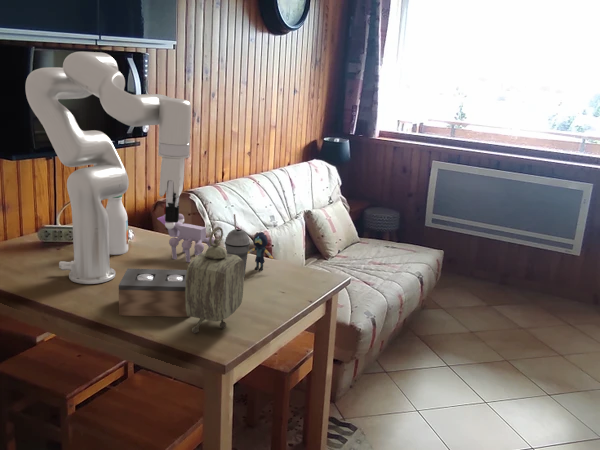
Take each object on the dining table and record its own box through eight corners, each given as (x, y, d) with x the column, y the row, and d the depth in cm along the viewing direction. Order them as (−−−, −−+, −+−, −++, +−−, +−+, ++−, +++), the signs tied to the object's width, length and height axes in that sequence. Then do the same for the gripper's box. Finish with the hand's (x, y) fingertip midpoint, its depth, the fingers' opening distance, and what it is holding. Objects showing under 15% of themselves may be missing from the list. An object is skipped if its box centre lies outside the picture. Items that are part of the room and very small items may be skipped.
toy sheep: (146, 255, 195) (147, 213, 192) (166, 248, 204) (167, 208, 201) (199, 266, 187) (201, 224, 184) (217, 259, 197) (219, 218, 194)
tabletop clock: (211, 312, 156) (213, 218, 149) (243, 318, 153) (247, 223, 147) (184, 335, 142) (185, 233, 136) (220, 342, 140) (223, 239, 133)
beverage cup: (244, 286, 174) (247, 219, 169) (220, 283, 175) (222, 216, 170) (251, 277, 181) (254, 213, 176) (228, 274, 182) (230, 210, 177)
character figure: (242, 268, 188) (244, 231, 185) (249, 264, 192) (250, 228, 189) (269, 274, 185) (271, 236, 182) (275, 270, 189) (277, 233, 185)
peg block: (119, 315, 150) (118, 285, 148) (128, 296, 162) (127, 268, 160) (190, 316, 152) (191, 287, 150) (194, 298, 164) (194, 270, 162)
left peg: (136, 307, 155) (135, 279, 152) (138, 301, 158) (138, 273, 156) (152, 307, 155) (152, 279, 153) (154, 301, 159) (154, 274, 157)
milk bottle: (124, 256, 193) (123, 194, 187) (100, 254, 193) (98, 193, 187) (131, 248, 200) (130, 189, 195) (107, 247, 200) (106, 187, 195)
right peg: (166, 308, 155) (166, 280, 153) (168, 302, 159) (168, 274, 157) (182, 308, 156) (182, 280, 154) (183, 302, 160) (183, 274, 157)
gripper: (163, 143, 156) (161, 212, 161) (153, 154, 142) (152, 229, 147) (192, 146, 157) (190, 214, 162) (186, 156, 142) (183, 231, 148)
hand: (171, 221), depth 154 cm, fingers closed
